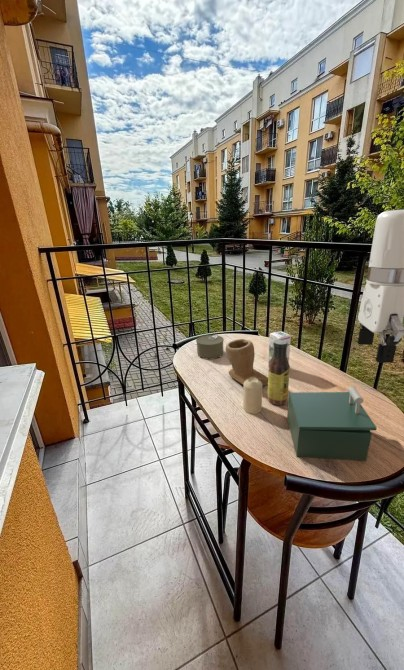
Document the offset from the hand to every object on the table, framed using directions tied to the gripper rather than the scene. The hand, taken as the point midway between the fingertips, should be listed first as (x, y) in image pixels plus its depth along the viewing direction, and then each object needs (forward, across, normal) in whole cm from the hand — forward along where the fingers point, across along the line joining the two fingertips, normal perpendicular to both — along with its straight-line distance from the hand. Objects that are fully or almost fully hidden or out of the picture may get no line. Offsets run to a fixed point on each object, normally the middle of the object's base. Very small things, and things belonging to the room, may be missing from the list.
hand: (373, 352), depth 63 cm
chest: (+24, 0, -8) cm, 26 cm away
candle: (+24, -12, -26) cm, 38 cm away
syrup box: (+24, -38, -15) cm, 48 cm away
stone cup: (+24, -28, -28) cm, 47 cm away
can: (+24, -52, -43) cm, 71 cm away
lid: (+16, 0, -8) cm, 18 cm away
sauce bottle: (+24, -16, -18) cm, 35 cm away
